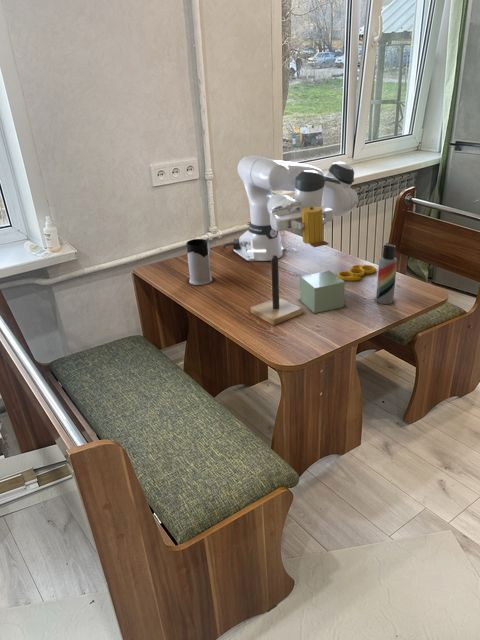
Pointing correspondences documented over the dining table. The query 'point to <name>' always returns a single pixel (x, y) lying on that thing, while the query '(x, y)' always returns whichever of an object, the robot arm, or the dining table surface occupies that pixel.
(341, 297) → the display block
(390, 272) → the lotion bottle
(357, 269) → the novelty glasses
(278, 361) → the dining table surface
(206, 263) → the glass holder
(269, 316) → the peg stand
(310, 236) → the slatted lidded canister
